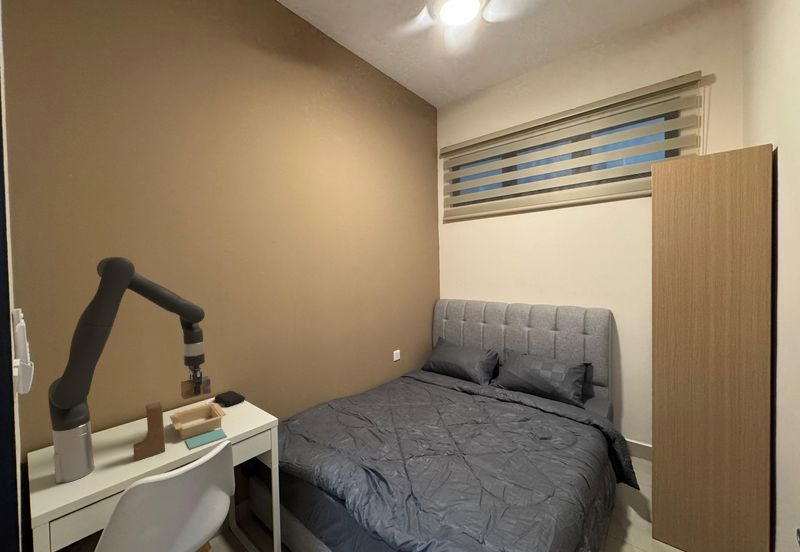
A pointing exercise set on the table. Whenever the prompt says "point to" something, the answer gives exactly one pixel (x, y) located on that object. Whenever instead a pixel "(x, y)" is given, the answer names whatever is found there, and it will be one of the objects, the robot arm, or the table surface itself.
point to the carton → (197, 414)
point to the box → (188, 388)
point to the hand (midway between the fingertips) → (196, 392)
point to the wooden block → (152, 433)
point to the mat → (205, 438)
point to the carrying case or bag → (229, 398)
